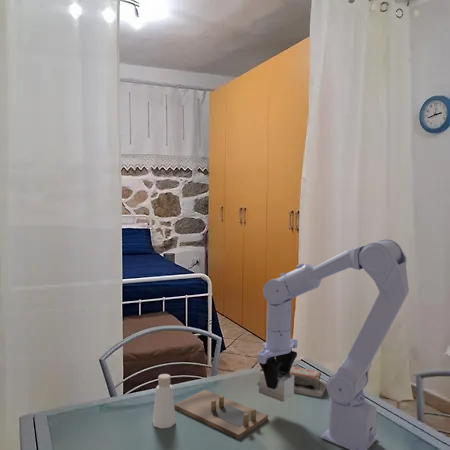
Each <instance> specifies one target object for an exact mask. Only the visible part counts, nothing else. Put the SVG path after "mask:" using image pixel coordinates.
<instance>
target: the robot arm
mask: <svg viewBox="0 0 450 450" xmlns="http://www.w3.org/2000/svg"><path fill="white" fill-rule="evenodd" d="M407 260H408V259H407V256H406V255H405V253H404V251H403V249H402V247H401V245H400V244H399V243H397V242H396V241H394V240H392V239H387V238H386V239H385V238H384V239H381V240H378V241H376V242H370V243H367V244H365V245H362V246H357V247H354V248H350V249H347V250H345V251H343V252H342V253H339V254H337V255H336V256H333V257H332V258H329V259H327V260H326V261H323V262H321V263H320V264H318V265H316V266H315V265H312V264H310V263H306V264H304V263H303V262H302V263H299V264H298V265H296V268H295V269H293V270H290V271H289V272H282V273H281V274H279V276H280V277H277V278H272V279H271V278H270V279H269V280H268V281H267V282H266V283H264V285H263V287H262V294H263V297H264V300H265V301H266V323H265V324H266V330H265V331H266V333H265V334H266V335H265V336H266V337H265V342H263V343H262V347H263V348H262V349H261V350H260V351H259V352H258V353H256V363H258V364H259V365H260V367H261V368H262V370H263V373H264V376H265V380H266V385H267V387H268V388H271V389H275V388H276V385H277V378H278V372H279V370H280V371H283V372H286V373H290V369H291V366H293V364H294V361H295V360H296V358H297V357H298V352H296V351H294V350H293V349H297V348H298V339H295V338H291V337H292V336H291V335H292V334H291V332H292V331H291V328H292V326H291V325H292V323H291V322H292V301H293V299H294V298H297V297H299V296H301V295H303V294H306V293H308V292H310V291H312V290H315V289H317V288H319V287H320V285H321V282H322V280H323V279H325V278H328V277H329V276H332V275H335V274H337V273H340V272H342V271H345V270H347V269H349V268H351V269H354V270H357V271H360V270H362V269H363V271H365V272H366V274H368V275H369V277H370V278H371V279H372V280H373V281H374V283H375V286H376V288H377V290H378V291H379V294H378V295H377V297H376V299H375V301H374V303H373V305H372V307H371V309H370V311H369V313H368V315H367V317H366V319H365V320H364V322H363V324H362V327H361V329H360V330H359V332H358V334H357V337H356V339H355V340H354V342H353V344H352V345H351V348H350V350H349V352H348V354H347V355H346V357H345V359H344V360H343V361H342V363H341V364H340V366H339V367H338V369H337V371H336V372H334V374H332V375H330V376H329V377H328V379H326V380H327V384H326V392H327V393H328V395H329V412H328V413H329V416H328V417H329V418H328V429H327V430H325V431H324V432H323V433H322V434H321V435H320V437H321V439H323V440H324V441H325V440H326V441H328V442H330V443H333V444H335V445H337V446H341V447H343V448H345V449H348V450H368V449H370V447H371V446H372V445H373V444H374V443H375V442H376V441H377V439H378V437H377V408H376V406H375V405H372V404H370V403H369V402H368V401H367V400H366V398H365V393H364V388H366V386H367V385H368V382H369V371H370V370H371V368H372V362H373V360H374V358H375V357H376V355H377V352H378V351H379V349H380V347H381V345H382V343H383V341H384V339H386V336H387V334H388V333H389V330H390V328H391V326H392V325H393V323H394V321H395V320H396V317H397V315H398V313H399V312H400V310H401V308H402V305H403V304H404V301H406V298H407V296H408V295H409V289H410V288H409V280H408V273H407V271H408V270H407ZM261 368H260V369H261Z"/></svg>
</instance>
